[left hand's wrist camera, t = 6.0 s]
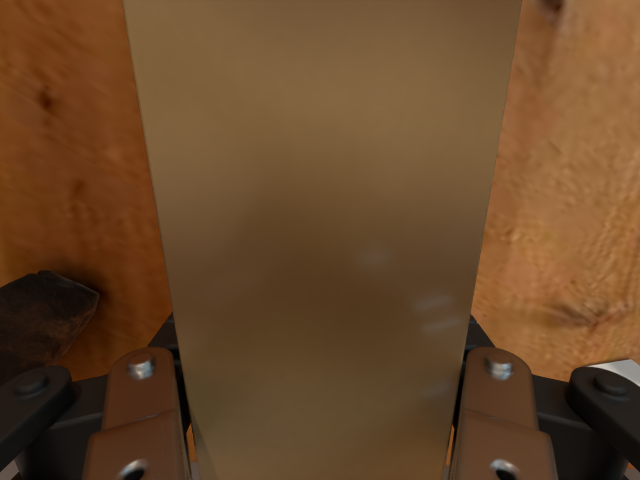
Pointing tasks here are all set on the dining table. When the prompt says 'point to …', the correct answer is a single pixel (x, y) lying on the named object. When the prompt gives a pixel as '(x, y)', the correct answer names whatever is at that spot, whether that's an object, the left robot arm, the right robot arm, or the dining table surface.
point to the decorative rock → (40, 321)
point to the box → (321, 220)
